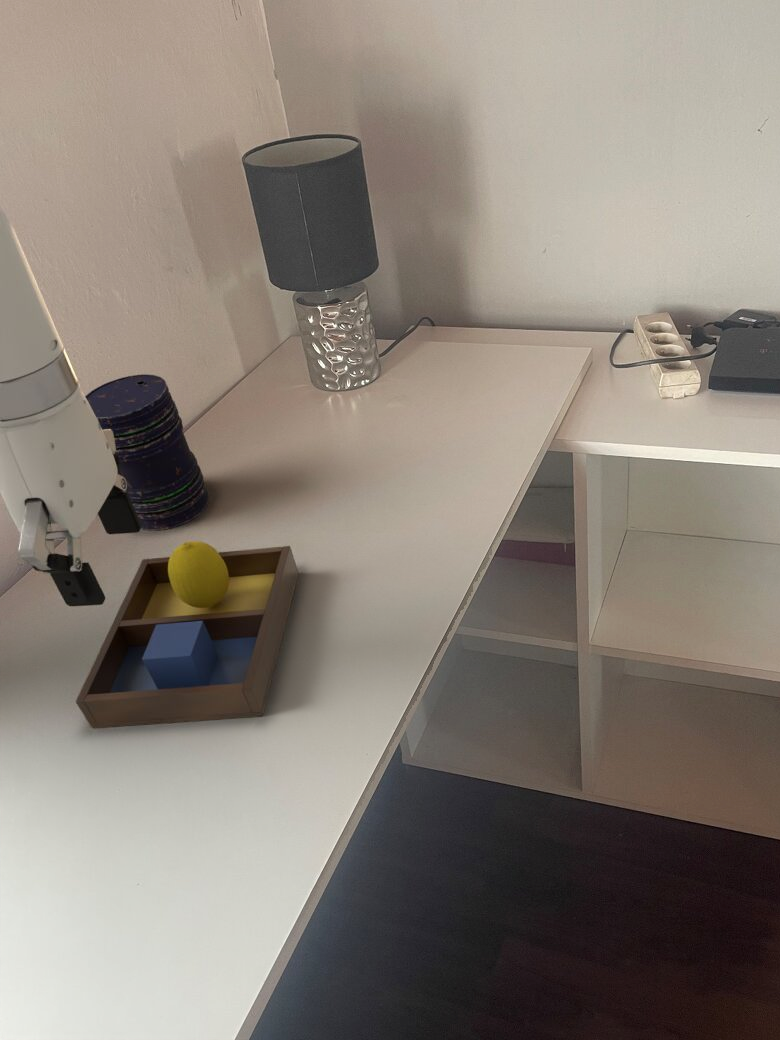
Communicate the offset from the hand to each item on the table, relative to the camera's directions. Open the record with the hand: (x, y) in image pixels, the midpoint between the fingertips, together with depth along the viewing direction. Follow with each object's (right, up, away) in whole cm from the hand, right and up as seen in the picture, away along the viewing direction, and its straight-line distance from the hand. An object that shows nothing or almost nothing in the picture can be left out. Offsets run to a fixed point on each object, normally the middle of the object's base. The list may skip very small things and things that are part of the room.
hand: (107, 565), depth 74 cm
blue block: (+5, -10, +6) cm, 13 cm away
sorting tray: (+5, -7, +10) cm, 14 cm away
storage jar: (-4, +8, +30) cm, 32 cm away
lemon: (+5, -4, +14) cm, 15 cm away
